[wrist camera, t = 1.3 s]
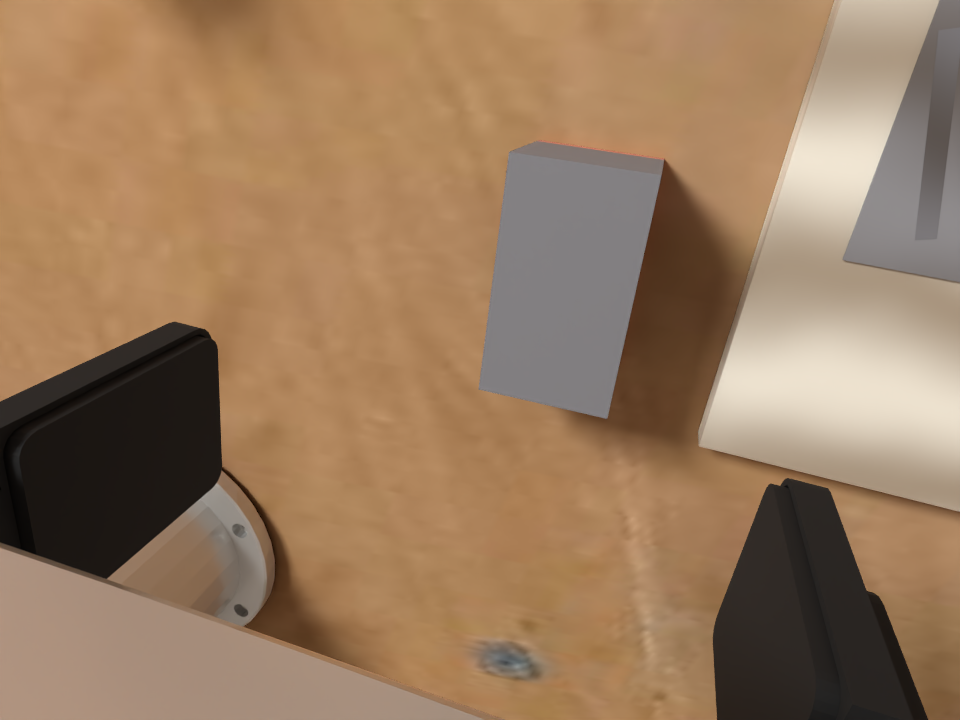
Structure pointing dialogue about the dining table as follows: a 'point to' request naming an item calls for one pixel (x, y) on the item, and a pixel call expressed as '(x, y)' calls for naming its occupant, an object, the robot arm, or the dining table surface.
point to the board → (859, 269)
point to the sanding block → (567, 273)
